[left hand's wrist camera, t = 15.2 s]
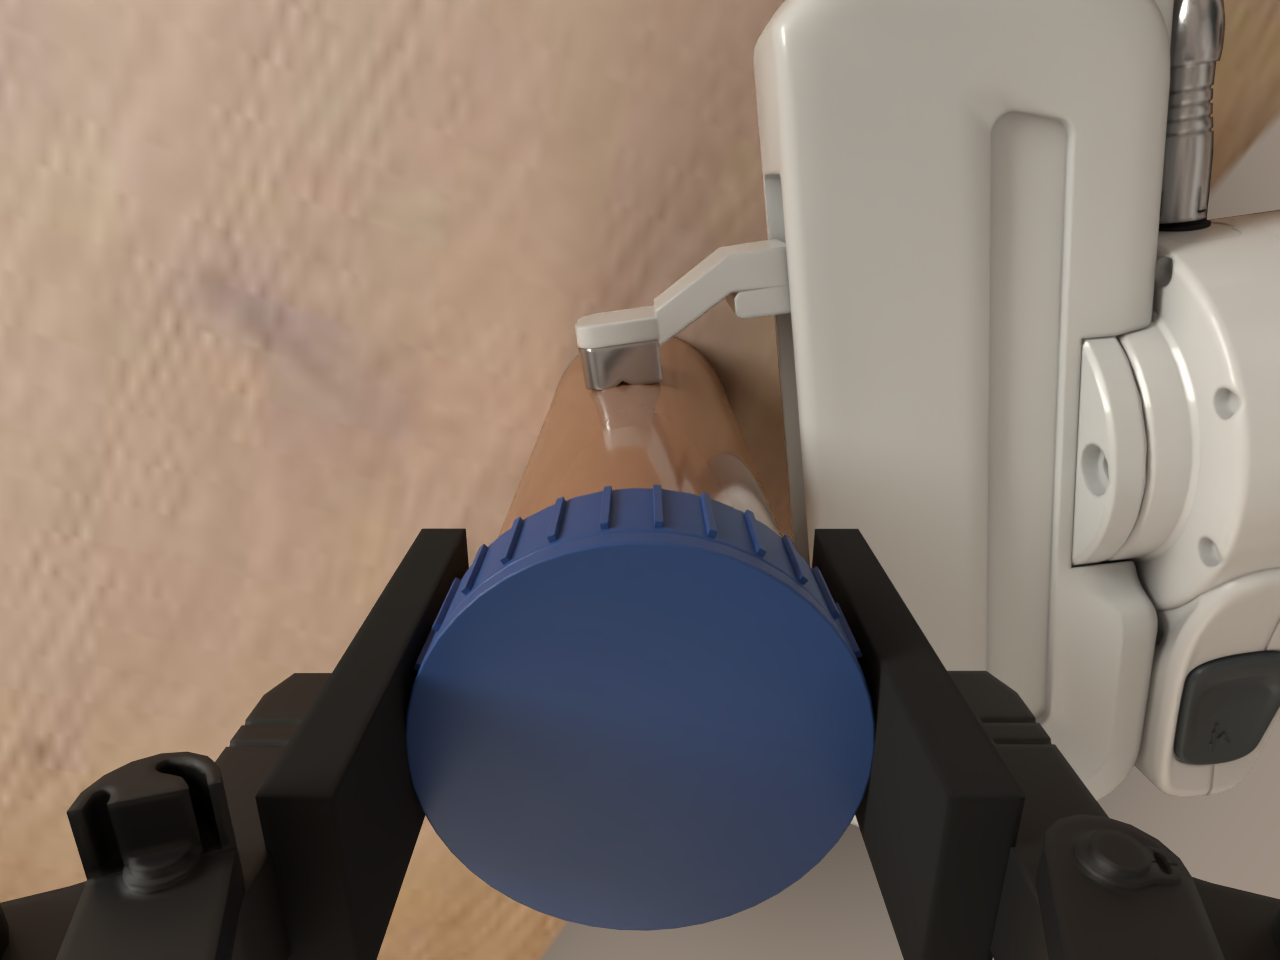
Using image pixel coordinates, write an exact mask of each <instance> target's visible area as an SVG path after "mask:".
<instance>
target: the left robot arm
mask: <svg viewBox="0 0 1280 960" xmlns="http://www.w3.org/2000/svg"><path fill="white" fill-rule="evenodd" d="M816 566H817V567H818V569H819V570H820V572H821V574H822V576H823V578H824V580H825V582H826V585H827V587H828V589H829V591H830V593H831V596H832V598H833V600H834V602H835V603H838V604H839V606H840V608H841V611H842V613H843V615H844V617H845V619H846V621H847V623H848V626H849V628H850V630H851V632H852V634H853V636H854V638H855V641H856V643H857V645H858V647H859V649H860V652H861V654H862V657H859V658H857V660H858V662H859V665H860V667H861V669H862V671H863V674H864V677H865V680H866V683H867V686H868V689H869V692H870V695H871V700H872V706H873V712H874V719H875V744H874V753H873V761H872V769H871V775H870V778H869V781H868V785H867V788H866V791H865V794H864V797H863V800H862V802H861V804H860V806H859V808H858V810H857V812H856V814H855V816H856V819H857V822H858V825H859V828H860V831H861V833H862V837H863V840H864V843H865V846H866V849H867V851H868V854H869V857H870V860H871V863H872V866H873V869H874V872H875V875H876V878H877V881H878V884H879V887H880V890H881V893H882V896H883V899H884V902H885V905H886V908H887V911H888V914H889V917H890V920H891V922H892V925H893V928H894V931H895V934H896V937H897V940H898V943H899V946H900V949H901V952H902V955H903V958H904V960H992V959H993V958H994V960H1280V899H1276V898H1271V897H1268V896H1263V895H1259V894H1255V893H1251V892H1247V891H1242V890H1238V889H1234V888H1230V887H1225V886H1221V885H1217V884H1213V883H1209V882H1206V881H1203V880H1200V879H1197V878H1194V877H1191V875H1190V874H1189V872H1188V870H1187V869H1186V867H1185V866H1184V864H1183V863H1182V861H1181V860H1180V858H1179V857H1177V856H1176V855H1175V854H1174V853H1173V852H1172V851H1171V850H1169V849H1168V848H1167V847H1166V846H1165V845H1163V844H1162V843H1161V842H1160V841H1159V840H1158V839H1156V838H1154V837H1152V836H1150V835H1148V834H1147V833H1145V832H1143V831H1141V830H1139V829H1138V828H1136V827H1134V826H1132V825H1129V824H1126V823H1123V822H1120V821H1117V820H1114V819H1110V818H1109V817H1108V816H1107V814H1106V813H1105V812H1104V810H1103V809H1102V808H1101V806H1100V805H1099V804H1098V802H1097V801H1096V799H1095V798H1094V797H1093V795H1092V794H1091V793H1090V791H1089V790H1088V789H1087V787H1086V786H1085V784H1084V783H1083V782H1082V780H1081V779H1080V778H1079V776H1078V775H1077V774H1076V772H1075V771H1074V769H1073V768H1072V767H1071V765H1070V764H1069V763H1068V761H1067V760H1066V759H1065V757H1064V756H1063V754H1062V753H1061V752H1060V750H1059V749H1058V748H1057V746H1056V745H1055V744H1052V743H1051V738H1050V737H1049V735H1048V734H1047V733H1046V731H1045V730H1044V729H1043V727H1042V726H1041V724H1040V723H1036V720H1035V719H1036V718H1035V716H1034V715H1033V714H1032V712H1031V711H1030V709H1029V708H1028V707H1027V705H1026V704H1025V703H1024V701H1023V700H1022V699H1021V697H1020V696H1019V695H1018V693H1017V692H1016V691H1014V690H1013V689H1011V688H1010V687H1009V686H1007V685H1006V684H1004V683H1003V682H1002V681H1000V680H999V679H997V678H996V677H994V676H993V675H992V674H990V673H989V672H987V671H947V670H946V668H945V667H944V665H943V664H942V662H941V660H940V659H939V657H938V656H937V654H936V652H935V651H934V649H933V648H932V646H931V644H930V643H929V641H928V640H927V638H926V636H925V635H924V633H923V632H922V630H921V628H920V627H919V625H918V624H917V622H916V620H915V619H914V617H913V616H912V614H911V612H910V611H909V609H908V608H907V606H906V604H905V603H904V601H903V600H902V598H901V596H900V595H899V593H898V592H897V590H896V588H895V587H894V585H893V583H892V582H891V580H890V579H889V577H888V575H887V574H886V572H885V571H884V569H883V567H882V566H881V564H880V563H879V561H878V559H877V558H876V556H875V555H874V553H873V551H872V550H871V548H870V547H869V545H868V543H867V542H866V540H865V539H864V537H863V535H862V534H861V532H860V531H859V529H815V533H814V546H813V558H812V569H813V568H815V567H816ZM468 569H469V564H468V552H467V540H466V529H422V530H421V531H420V533H419V535H418V536H417V538H416V539H415V541H414V543H413V544H412V546H411V547H410V549H409V551H408V552H407V554H406V555H405V557H404V559H403V560H402V562H401V563H400V565H399V567H398V568H397V570H396V571H395V573H394V575H393V576H392V578H391V579H390V581H389V583H388V584H387V586H386V588H385V589H384V591H383V592H382V594H381V596H380V597H379V599H378V600H377V602H376V604H375V605H374V607H373V608H372V610H371V612H370V613H369V615H368V616H367V618H366V620H365V621H364V623H363V624H362V626H361V628H360V629H359V631H358V632H357V634H356V636H355V637H354V639H353V640H352V642H351V644H350V645H349V647H348V648H347V650H346V652H345V653H344V655H343V656H342V658H341V660H340V661H339V663H338V664H337V666H336V668H335V669H334V671H333V673H294V674H293V675H291V676H290V677H289V678H287V679H286V680H284V681H283V682H282V683H280V684H279V685H277V686H276V687H275V688H273V689H272V690H270V691H269V692H268V693H266V694H265V695H264V696H263V697H262V698H261V700H260V701H259V703H258V704H257V705H256V707H255V708H254V709H253V711H252V712H251V714H250V715H249V716H248V718H247V719H246V723H245V725H242V726H241V727H240V729H239V730H238V731H237V733H236V734H235V736H234V737H233V738H232V740H231V741H230V746H229V747H226V748H225V749H224V751H223V752H222V753H221V755H220V756H219V757H218V759H217V760H216V762H214V761H213V760H211V759H210V758H209V757H208V756H204V755H200V754H195V753H191V752H177V753H163V754H158V755H154V756H151V757H147V758H144V759H140V760H137V761H133V762H131V763H128V764H126V765H124V766H122V767H120V768H118V769H116V770H114V771H112V772H110V773H108V774H106V775H104V776H103V777H101V778H100V779H99V780H97V781H96V782H95V783H93V784H92V785H91V786H89V787H88V788H87V789H85V790H84V791H83V792H82V793H81V794H80V795H79V796H78V798H77V799H76V800H75V802H74V803H73V804H72V806H71V807H70V808H69V810H68V811H67V815H68V819H69V822H70V825H71V828H72V832H73V835H74V838H75V842H76V845H77V848H78V851H79V855H80V858H81V861H82V864H83V868H84V871H85V874H86V877H87V881H85V882H82V883H79V884H76V885H72V886H69V887H65V888H61V889H57V890H52V891H48V892H44V893H40V894H36V895H32V896H27V897H23V898H19V899H15V900H11V901H6V902H2V903H0V960H377V957H378V954H379V951H380V948H381V945H382V942H383V939H384V936H385V933H386V930H387V927H388V924H389V921H390V918H391V915H392V912H393V909H394V906H395V903H396V900H397V897H398V894H399V891H400V888H401V885H402V883H403V880H404V877H405V874H406V871H407V868H408V865H409V862H410V859H411V856H412V853H413V850H414V847H415V844H416V841H417V838H418V835H419V832H420V829H421V826H422V823H423V820H424V817H425V813H424V811H423V810H422V807H421V805H420V802H419V800H418V797H417V795H416V792H415V790H414V788H413V784H412V780H411V776H410V772H409V765H408V757H407V748H406V740H405V727H406V714H407V707H408V703H409V699H410V695H411V691H412V687H413V683H414V681H415V678H416V676H417V674H418V671H417V670H414V667H415V664H416V661H417V659H418V657H419V655H420V653H421V651H422V649H423V646H424V644H425V642H426V640H427V638H428V636H429V633H430V631H431V629H432V626H433V624H434V622H435V620H436V618H437V616H438V613H439V611H440V609H441V607H442V605H443V603H444V600H445V598H446V596H447V594H448V592H449V590H450V588H451V585H452V583H453V581H454V580H455V578H458V579H460V580H462V578H463V576H464V575H465V573H466V571H467V570H468Z"/></svg>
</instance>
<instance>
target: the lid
mask: <svg viewBox="0 0 1280 960" xmlns="http://www.w3.org/2000/svg"><path fill="white" fill-rule="evenodd" d="M859 657H862V654H861V652H860V649H859V647H858V645H857V643H856V641H855V638H854V636H853V634H852V632H851V630H850V628H849V626H848V623H847V621H846V619H845V617H844V615H843V613H842V611H841V608H840V606H839V604H838V603H835V602H834V600H833V598H832V596H831V593H830V591H829V589H828V587H827V585H826V582H825V580H824V578H823V576H822V574H821V572H820V570H819V569H818V567H817V566H816V567H815V568H813V569H811V567H810V566H809V565H808V563H807V562H806V561H805V560H804V558H803V557H802V556H801V555H800V554H799V553H798V552H797V551H796V549H795V547H794V545H793V542H792V540H791V538H790V537H788V536H787V535H785V536H784V537H783V538H782V537H781V536H779V535H778V534H777V533H775V532H774V531H773V530H772V529H770V528H769V527H768V526H766V525H765V524H763V523H761V522H760V521H758V520H756V519H755V516H754V513H753V512H752V511H750V510H748V509H747V510H746V512H745V513H744V512H742V511H740V510H737V509H735V508H733V507H730V506H728V505H726V504H723V503H721V502H719V501H716V500H712V499H710V495H709V494H707V493H704V492H702V494H701V496H698V495H694V494H691V493H685V492H678V491H672V490H665V489H661V485H653V489H647V488H628V489H617V490H612V486H606V487H604V490H603V491H600V492H596V493H591V494H587V495H582V496H578V497H574V498H571V499H569V500H566V501H565V498H564V497H561V498H558V499H557V500H556V503H555V504H554V505H552V506H549V507H547V508H545V509H543V510H541V511H539V512H537V513H535V514H533V515H531V516H529V517H527V518H525V519H524V520H523V519H522V518H521V517H518V518H517V519H515V520H514V522H513V525H512V528H510V529H509V530H508V531H506V532H505V533H503V534H502V535H501V536H500V537H498V538H497V539H496V540H495V541H494V542H493V543H492V544H491V545H490V546H489V547H487V546H486V545H485V544H483V545H482V546H481V547H480V548H479V550H478V552H477V555H476V557H475V559H474V562H473V564H472V565H471V567H470V568H469V569H468V570H467V571H466V573H465V575H464V576H463V578H462V580H460V579H458V578H455V580H454V581H453V583H452V585H451V588H450V590H449V592H448V594H447V596H446V598H445V600H444V603H443V605H442V607H441V609H440V611H439V613H438V616H437V618H436V620H435V622H434V624H433V626H432V629H431V631H430V633H429V636H428V638H427V640H426V642H425V644H424V646H423V649H422V651H421V653H420V655H419V657H418V659H417V661H416V664H415V667H414V670H417V671H418V674H417V676H416V678H415V681H414V683H413V687H412V691H411V695H410V699H409V703H408V707H407V714H406V727H405V740H406V748H407V757H408V765H409V772H410V776H411V780H412V784H413V788H414V790H415V792H416V795H417V797H418V800H419V802H420V805H421V807H422V810H423V811H424V813H425V815H426V817H427V818H428V820H429V822H430V823H431V825H432V827H433V828H434V830H435V832H436V833H437V834H438V836H439V837H440V838H441V840H442V841H443V842H444V843H445V845H446V846H447V847H448V848H449V850H450V851H451V852H452V853H453V854H454V855H455V856H456V857H457V858H458V859H459V860H460V861H461V862H462V863H463V864H464V865H465V866H466V867H467V868H468V869H469V870H470V871H471V872H473V873H474V874H475V875H477V876H478V877H479V878H481V879H482V880H483V881H485V882H486V883H487V884H489V885H490V886H491V887H493V888H494V889H496V890H498V891H499V892H501V893H503V894H505V895H506V896H508V897H510V898H511V899H513V900H515V901H517V902H519V903H521V904H523V905H526V906H528V907H530V908H532V909H534V910H537V911H539V912H542V913H545V914H548V915H551V916H554V917H557V918H560V919H563V920H566V921H570V922H575V923H579V924H584V925H588V926H593V927H601V928H609V929H618V930H660V929H673V928H680V927H686V926H692V925H697V924H703V923H706V922H710V921H714V920H717V919H721V918H724V917H728V916H731V915H733V914H736V913H738V912H741V911H743V910H746V909H748V908H751V907H753V906H756V905H757V904H759V903H761V902H763V901H765V900H767V899H769V898H771V897H773V896H775V895H776V894H778V893H780V892H781V891H783V890H784V889H786V888H787V887H789V886H790V885H792V884H793V883H795V882H796V881H798V880H799V879H800V878H802V877H803V876H804V875H805V874H806V873H807V872H809V871H810V870H811V869H812V868H813V867H814V866H815V865H817V864H818V863H819V862H820V861H821V860H822V859H823V858H824V857H825V855H826V854H827V853H828V852H829V851H830V850H831V849H832V848H833V847H834V845H835V844H836V843H837V842H838V841H839V839H840V838H841V836H842V835H843V833H844V832H845V830H846V829H847V827H848V826H849V824H850V823H851V822H852V820H853V818H854V816H855V814H856V812H857V810H858V808H859V806H860V804H861V802H862V800H863V797H864V794H865V791H866V788H867V785H868V781H869V778H870V775H871V769H872V761H873V753H874V744H875V719H874V712H873V706H872V700H871V695H870V692H869V689H868V686H867V683H866V680H865V677H864V674H863V671H862V669H861V667H860V665H859V662H858V660H857V658H859Z"/></svg>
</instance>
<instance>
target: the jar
mask: <svg viewBox="0 0 1280 960" xmlns="http://www.w3.org/2000/svg"><path fill="white" fill-rule="evenodd" d="M658 344H659V341H658ZM659 353H660V361H661V370H662V380H663V382H658V383H651V384H644V385H631V384H629V383H627V382H625V381H622V382H620V383H619V384H618V385H617V386H616V387H614V388H610V389H605V390H588V389H586V385H585V380H584V375H583V369H582V364H581V359H580V354H579V355H578V356H577V357H576V358H575V359H574V361H573V362H572V363H571V364H570V365H569V367H568V368H567V370H566V372H565V373H564V375H563V376H562V379H561V381H560V383H559V386H558V388H557V390H556V393H555V396H554V398H553V401H552V403H551V406H550V408H549V411H548V413H547V416H546V418H545V421H544V423H543V426H542V428H541V431H540V433H539V436H538V438H537V441H536V443H535V446H534V448H533V451H532V453H531V456H530V458H529V461H528V463H527V466H526V468H525V471H524V473H523V476H522V479H521V481H520V484H519V486H518V489H517V491H516V494H515V496H514V499H513V501H512V504H511V506H510V509H509V511H508V514H507V516H506V519H505V521H504V524H503V526H502V529H501V531H500V534H499V536H498V537H500V536H501V535H502V534H503V533H505V532H506V531H508V530H509V529H510V528H512V525H513V522H514V520H515V519H517V518H518V517H521V518H522V519H523V520H524V519H525V518H527V517H529V516H531V515H533V514H535V513H537V512H539V511H541V510H543V509H545V508H547V507H549V506H552V505H554V504H555V503H556V500H557V499H558V498H561V497H564V498H565V501H566V500H569V499H571V498H574V497H578V496H582V495H587V494H591V493H596V492H600V491H603V490H604V487H606V486H612V490H617V489H628V488H647V489H653V485H661V489H665V490H672V491H678V492H685V493H691V494H694V495H698V496H701V494H702V492H704V493H707V494H709V495H710V499H712V500H716V501H719V502H721V503H723V504H726V505H728V506H730V507H733V508H735V509H737V510H740V511H742V512H744V513H745V512H746V510H747V509H748V510H750V511H752V512H753V513H754V516H755V519H756V520H758V521H760V522H761V523H763V524H765V525H766V526H768V527H769V528H770V529H772V530H773V531H774V532H775V533H777V534H778V535H779V536H781V537H782V535H781V532H780V530H779V527H778V525H777V522H776V520H775V517H774V515H773V512H772V510H771V507H770V505H769V502H768V500H767V497H766V495H765V492H764V490H763V487H762V485H761V482H760V480H759V477H758V475H757V472H756V469H755V467H754V464H753V462H752V459H751V457H750V454H749V452H748V449H747V447H746V444H745V442H744V439H743V437H742V434H741V432H740V429H739V427H738V424H737V422H736V419H735V417H734V414H733V412H732V409H731V407H730V404H729V402H728V399H727V396H726V394H725V391H724V389H723V386H722V384H721V382H720V380H719V378H718V376H717V374H716V372H715V371H714V369H713V368H712V366H711V365H710V363H709V362H708V361H707V360H706V359H705V358H704V357H703V356H702V354H700V353H699V352H698V351H697V350H696V349H694V348H693V347H692V346H690V345H689V344H687V343H685V342H684V341H682V340H680V339H678V338H675V337H672V338H671V339H670V340H668V341H667V342H666V343H664V344H663V345H662V346H660V344H659ZM782 538H783V537H782Z"/></svg>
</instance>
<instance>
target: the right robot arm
mask: <svg viewBox="0 0 1280 960" xmlns="http://www.w3.org/2000/svg"><path fill="white" fill-rule="evenodd" d="M1224 32H1225V11H1224V0H785V1H784V2H783V3H782V5H781V6H780V7H779V8H778V10H777V11H776V12H775V14H774V15H773V17H772V18H771V20H770V21H769V23H768V24H767V26H766V27H765V29H764V30H763V32H762V34H761V35H760V37H759V38H758V40H757V43H756V46H755V49H754V75H755V88H756V100H757V112H758V124H759V136H760V148H761V160H762V172H763V184H764V197H765V209H766V221H767V233H768V240H763V241H757V242H750V243H744V244H737V245H730V246H724V247H719V248H718V249H716V250H715V251H714V252H713V253H711V254H710V255H709V256H708V257H706V258H705V259H704V260H703V261H701V262H700V263H699V264H698V265H696V266H695V267H694V268H693V269H691V270H690V271H689V272H688V273H686V274H685V275H684V276H683V277H681V278H680V279H679V280H678V281H676V282H675V283H674V284H673V285H671V286H670V287H669V288H668V289H666V290H665V291H664V292H663V293H661V294H660V295H659V296H658V297H656V298H655V299H654V305H651V306H644V307H637V308H630V309H623V310H616V311H609V312H602V313H595V314H592V315H588V316H584V317H581V318H578V320H577V323H576V325H575V329H576V335H577V342H578V347H579V353H580V359H581V364H582V369H583V375H584V380H585V385H586V389H588V390H605V389H610V388H614V387H616V386H617V385H618V384H619V383H620V382H622V381H625V382H627V383H629V384H631V385H644V384H651V383H658V382H663V380H662V370H661V361H660V353H659V344H660V346H662V345H663V344H664V343H666V342H667V341H668V340H670V339H671V338H672V337H674V336H675V335H676V334H678V333H679V332H680V331H682V330H683V329H684V328H686V327H687V326H688V325H690V324H691V323H692V322H694V321H695V320H696V319H698V318H699V317H700V316H702V315H703V314H704V313H706V312H707V311H708V310H710V309H711V308H712V307H714V306H715V305H716V304H718V303H719V302H720V301H722V300H723V299H724V298H726V301H727V302H728V304H729V305H730V307H731V308H732V310H733V311H734V312H735V314H736V315H737V316H738V317H740V318H741V319H747V318H755V317H763V316H771V315H774V318H775V330H776V342H777V354H778V366H779V378H780V390H781V402H782V415H783V427H784V439H785V451H786V463H787V475H788V487H789V499H790V511H791V524H792V536H793V545H794V547H795V549H796V551H797V552H798V553H799V554H800V555H801V556H802V557H803V558H804V560H805V561H806V562H807V563H808V565H809V566H810V567H811V569H812V558H813V546H814V533H815V529H859V531H860V532H861V534H862V535H863V537H864V539H865V540H866V542H867V543H868V545H869V547H870V548H871V550H872V551H873V553H874V555H875V556H876V558H877V559H878V561H879V563H880V564H881V566H882V567H883V569H884V571H885V572H886V574H887V575H888V577H889V579H890V580H891V582H892V583H893V585H894V587H895V588H896V590H897V592H898V593H899V595H900V596H901V598H902V600H903V601H904V603H905V604H906V606H907V608H908V609H909V611H910V612H911V614H912V616H913V617H914V619H915V620H916V622H917V624H918V625H919V627H920V628H921V630H922V632H923V633H924V635H925V636H926V638H927V640H928V641H929V643H930V644H931V646H932V648H933V649H934V651H935V652H936V654H937V656H938V657H939V659H940V660H941V662H942V664H943V665H944V667H945V668H946V670H947V671H987V672H989V673H990V674H992V675H993V676H994V677H996V678H997V679H999V680H1000V681H1002V682H1003V683H1004V684H1006V685H1007V686H1009V687H1010V688H1011V689H1013V690H1014V691H1016V692H1017V693H1018V695H1019V696H1020V697H1021V699H1022V700H1023V701H1024V703H1025V704H1026V705H1027V707H1028V708H1029V709H1030V711H1031V712H1032V714H1033V715H1034V716H1035V718H1036V719H1035V720H1036V723H1040V724H1041V726H1042V727H1043V729H1044V730H1045V731H1046V733H1047V734H1048V735H1049V737H1050V738H1051V743H1052V744H1055V745H1056V746H1057V748H1058V749H1059V750H1060V752H1061V753H1062V754H1063V756H1064V757H1065V759H1066V760H1067V761H1068V763H1069V764H1070V765H1071V767H1072V768H1073V769H1074V771H1075V772H1076V774H1077V775H1078V776H1079V778H1080V779H1081V780H1082V782H1083V783H1084V784H1085V786H1086V787H1087V789H1088V790H1089V791H1090V793H1091V794H1092V795H1093V797H1094V798H1095V799H1096V801H1098V800H1100V799H1101V798H1103V797H1104V796H1106V795H1108V794H1109V793H1111V792H1112V791H1113V790H1114V789H1115V788H1116V787H1118V786H1119V785H1120V784H1121V783H1122V782H1123V780H1124V779H1125V778H1126V777H1127V775H1128V774H1129V773H1130V771H1131V769H1132V768H1133V766H1134V765H1135V766H1136V767H1137V768H1138V769H1139V770H1140V771H1141V772H1142V773H1143V774H1144V775H1145V776H1146V777H1147V778H1148V779H1149V780H1150V781H1151V782H1152V783H1153V784H1154V785H1155V786H1156V787H1157V788H1158V789H1159V790H1161V791H1162V792H1164V793H1166V794H1168V795H1172V796H1179V797H1193V796H1204V795H1211V794H1216V793H1220V792H1224V791H1226V790H1229V789H1231V788H1233V787H1235V786H1236V785H1238V784H1239V783H1240V782H1241V781H1242V780H1243V779H1244V778H1245V777H1246V776H1247V775H1248V773H1249V772H1250V770H1251V769H1252V768H1253V766H1254V764H1255V762H1256V761H1257V759H1258V757H1259V755H1260V753H1261V752H1262V750H1263V748H1264V746H1265V744H1266V742H1267V740H1268V738H1269V737H1270V735H1271V733H1272V731H1273V729H1274V727H1275V726H1276V724H1277V722H1278V720H1279V719H1280V210H1275V211H1268V212H1261V213H1254V214H1247V215H1240V216H1233V217H1226V218H1219V219H1212V220H1207V209H1208V199H1209V189H1210V179H1211V168H1212V158H1213V134H1214V131H1211V128H1212V127H1213V117H1211V116H1210V115H1211V114H1212V110H1213V103H1210V101H1211V100H1212V99H1213V89H1212V88H1211V86H1212V85H1213V84H1214V76H1215V67H1216V61H1219V60H1220V57H1221V53H1222V48H1223V42H1224ZM658 341H659V344H658ZM851 824H853V825H855V826H857V827H859V825H858V822H857V819H856V816H854V818H853V820H852V822H851Z"/></svg>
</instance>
